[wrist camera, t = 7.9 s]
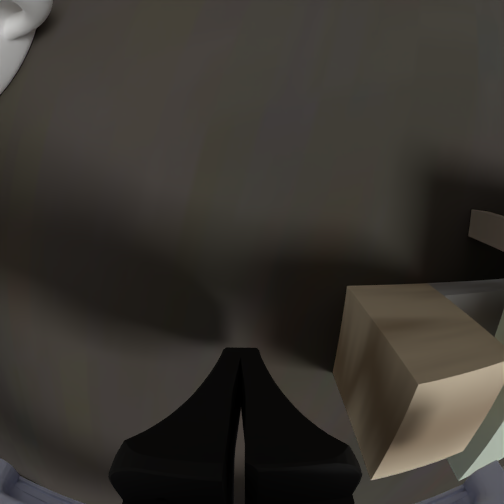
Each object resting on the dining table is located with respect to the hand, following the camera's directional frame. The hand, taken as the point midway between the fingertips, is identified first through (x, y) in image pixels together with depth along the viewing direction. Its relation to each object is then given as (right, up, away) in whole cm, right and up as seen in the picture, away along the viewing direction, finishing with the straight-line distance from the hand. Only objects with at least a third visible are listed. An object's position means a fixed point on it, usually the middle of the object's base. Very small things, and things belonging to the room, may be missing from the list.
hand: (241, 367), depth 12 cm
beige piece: (+14, +1, +2) cm, 15 cm away
